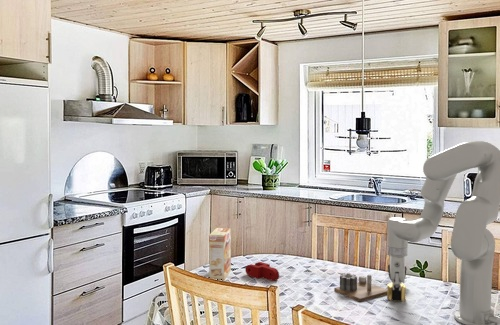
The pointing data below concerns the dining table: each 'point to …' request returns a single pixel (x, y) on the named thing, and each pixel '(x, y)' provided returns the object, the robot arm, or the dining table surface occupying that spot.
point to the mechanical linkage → (262, 271)
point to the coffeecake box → (220, 253)
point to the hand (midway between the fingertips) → (396, 296)
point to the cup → (389, 271)
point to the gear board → (359, 287)
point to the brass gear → (389, 291)
